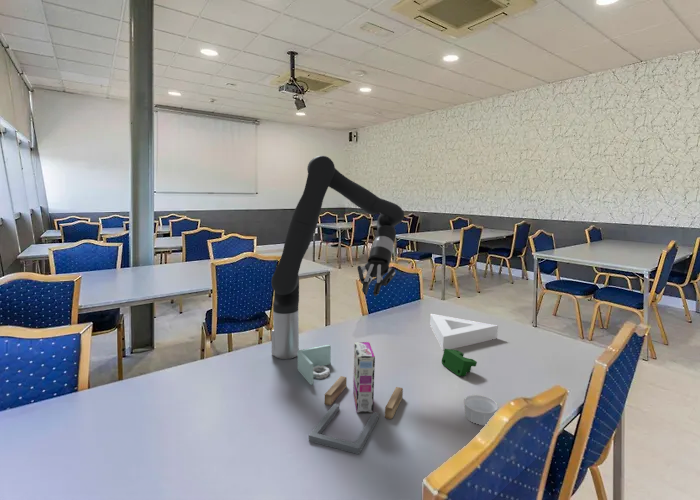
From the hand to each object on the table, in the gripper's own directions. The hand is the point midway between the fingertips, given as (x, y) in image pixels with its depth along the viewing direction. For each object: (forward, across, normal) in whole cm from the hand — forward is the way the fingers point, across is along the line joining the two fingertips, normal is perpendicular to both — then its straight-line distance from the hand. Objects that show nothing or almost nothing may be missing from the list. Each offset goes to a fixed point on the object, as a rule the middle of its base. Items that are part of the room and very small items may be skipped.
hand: (369, 293), depth 123 cm
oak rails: (+31, +4, +8) cm, 32 cm away
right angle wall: (+24, -15, +17) cm, 33 cm away
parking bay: (+41, +4, -1) cm, 41 cm away
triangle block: (-10, +23, +51) cm, 57 cm away
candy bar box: (+32, +4, +8) cm, 33 cm away
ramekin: (+29, +36, +12) cm, 47 cm away
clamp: (+9, +28, +31) cm, 43 cm away
